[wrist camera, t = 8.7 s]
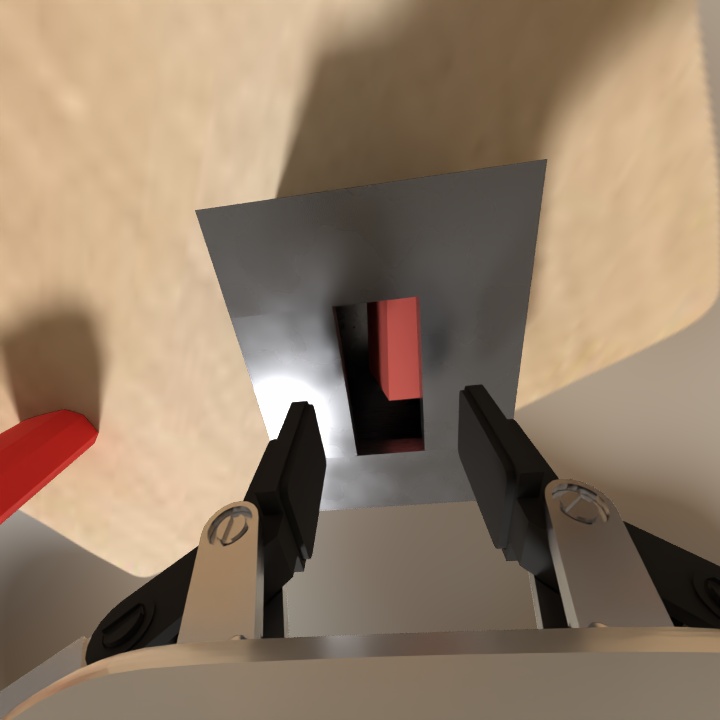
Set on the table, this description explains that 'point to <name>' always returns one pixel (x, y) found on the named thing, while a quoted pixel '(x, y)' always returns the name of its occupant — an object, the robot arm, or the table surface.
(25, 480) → the french fries
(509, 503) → the robot arm
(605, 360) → the table surface
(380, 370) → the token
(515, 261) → the grey slotted box
